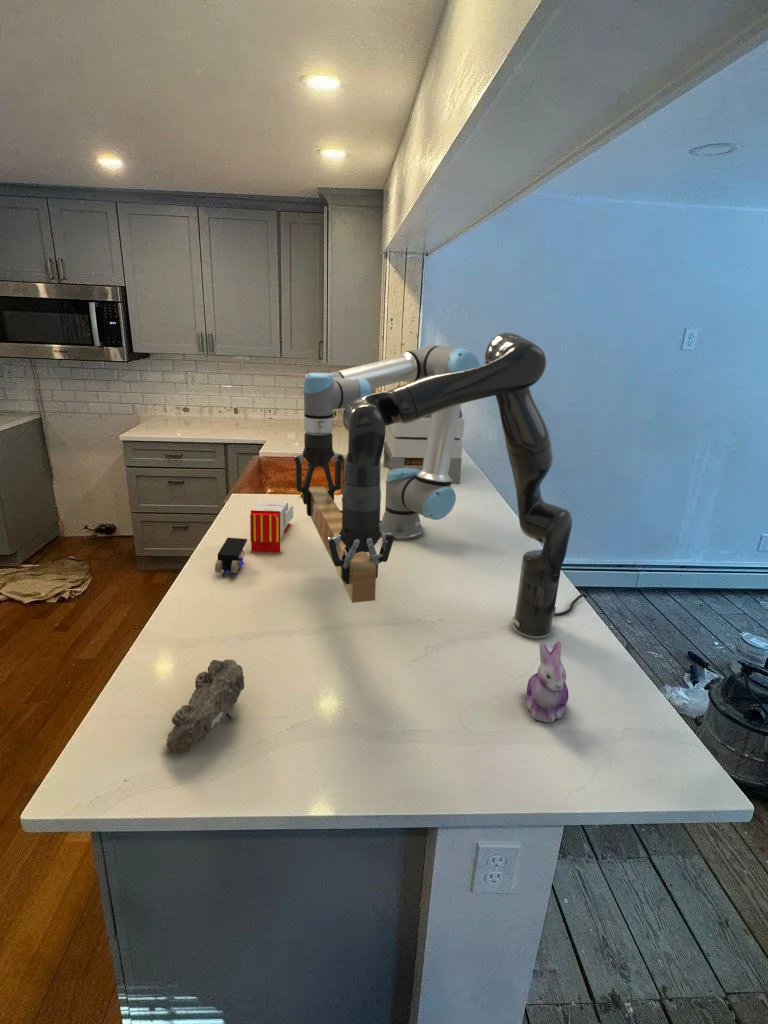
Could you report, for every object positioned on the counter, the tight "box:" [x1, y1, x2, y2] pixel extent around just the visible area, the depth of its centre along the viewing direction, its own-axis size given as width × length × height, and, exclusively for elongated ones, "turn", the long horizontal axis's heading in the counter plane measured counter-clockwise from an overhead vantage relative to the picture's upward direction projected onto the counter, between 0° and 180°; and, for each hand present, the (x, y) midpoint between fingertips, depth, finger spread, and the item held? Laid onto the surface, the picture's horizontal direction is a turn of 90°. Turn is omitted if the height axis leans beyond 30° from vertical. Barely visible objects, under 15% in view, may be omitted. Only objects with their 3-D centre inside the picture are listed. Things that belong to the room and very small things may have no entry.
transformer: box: [383, 384, 465, 484], centre depth 268 cm, size 34×33×41 cm
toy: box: [249, 500, 294, 554], centre depth 191 cm, size 12×13×30 cm
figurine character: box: [214, 537, 248, 578], centre depth 166 cm, size 7×8×15 cm
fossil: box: [166, 658, 245, 754], centre depth 106 cm, size 22×10×15 cm
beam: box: [309, 485, 377, 604], centre depth 138 cm, size 55×5×7 cm, turn 17°
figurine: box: [525, 640, 570, 723], centre depth 112 cm, size 9×10×15 cm
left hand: (318, 513), depth 160 cm, fingers closed on beam, 5 cm apart
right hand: (359, 580), depth 117 cm, fingers closed on beam, 4 cm apart
